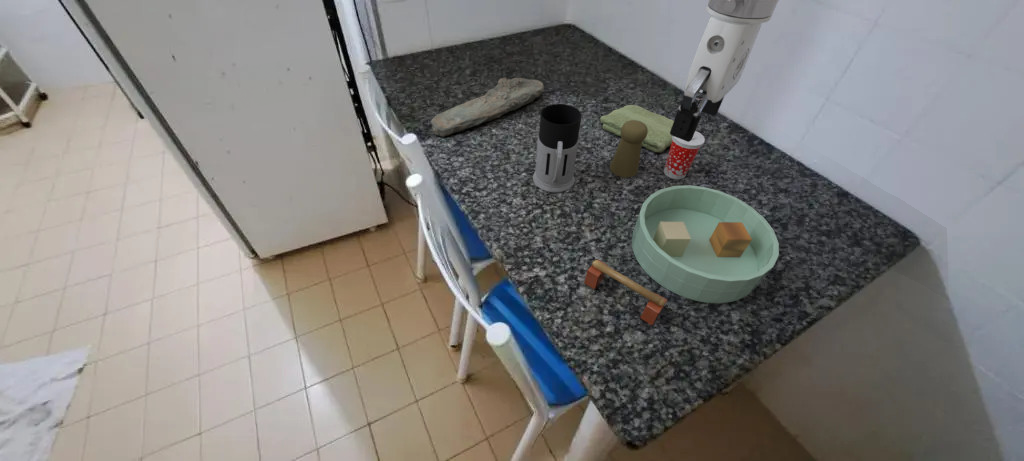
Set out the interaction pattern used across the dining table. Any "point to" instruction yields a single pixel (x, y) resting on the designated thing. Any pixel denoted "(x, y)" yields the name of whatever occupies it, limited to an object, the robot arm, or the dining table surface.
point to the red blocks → (651, 308)
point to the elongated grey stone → (487, 105)
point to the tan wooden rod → (629, 283)
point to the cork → (629, 149)
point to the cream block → (672, 238)
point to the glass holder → (557, 147)
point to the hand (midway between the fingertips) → (693, 124)
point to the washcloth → (655, 123)
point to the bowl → (703, 244)
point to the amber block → (730, 239)
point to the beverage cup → (682, 155)
